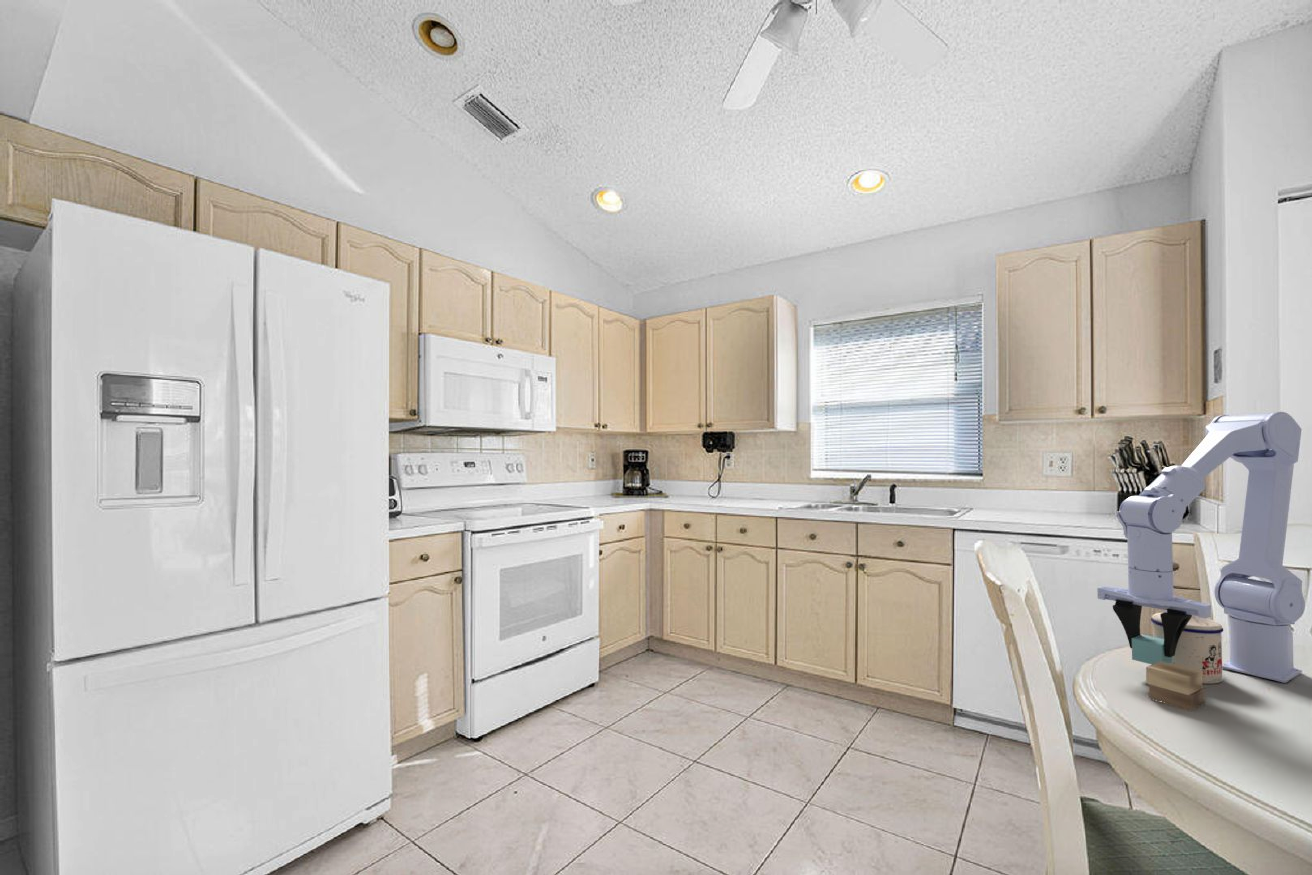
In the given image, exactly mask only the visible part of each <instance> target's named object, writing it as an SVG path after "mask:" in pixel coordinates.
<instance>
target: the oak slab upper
mask: <svg viewBox="0 0 1312 875" xmlns="http://www.w3.org/2000/svg"><path fill="white" fill-rule="evenodd" d="M1145 673H1146V676H1145V678H1146V681H1145V682H1146V684H1147V685H1149V684H1150V685H1154V686H1157V687H1161V688H1165V689H1168V690H1172V691H1175V692H1179V693H1183V694H1186V695H1190V694H1192V693H1194V692H1196V691H1198V690H1200V689H1202V688H1203V684H1202V671H1198V670H1194V669H1190V668H1186V667H1182V666H1178V665H1174V664H1170V663H1166V662H1162V661H1160V662H1157V663H1155V664H1149V665H1147V666H1146V667H1145Z"/></svg>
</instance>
